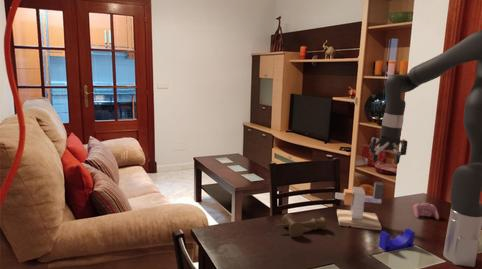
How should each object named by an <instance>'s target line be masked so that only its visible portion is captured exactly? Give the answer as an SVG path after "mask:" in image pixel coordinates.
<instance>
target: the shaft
mask: <svg viewBox="0 0 482 269" xmlns="http://www.w3.org/2000/svg"><path fill="white" fill-rule="evenodd" d="M384 188H385V185H384V183H383V182H379V181H377V182H376V181H374V185H373V194H372V196H371V195H365V201H364V203H374V204H382V199H383V193H384ZM353 197H354V195H353ZM334 198H335V200H336V199H337V200H342V201H343V200H344V198H345V195H344V192H335V194H334ZM352 201H353V199H352Z"/></svg>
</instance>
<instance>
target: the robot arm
mask: <svg viewBox="0 0 482 269" xmlns="http://www.w3.org/2000/svg"><path fill="white" fill-rule="evenodd" d="M474 61H476V62H477V65H476V68H477V69H476V76H475V80H474V82H473V85H472V86H471V89H470V90H469V93H468V95H467V97H466V99H465V104H464V110H463V126H464V130H465V133H466V136H467V139H468V141H469V145H470V156H469V157H470V158H469V159H470V160H469V164H464V165H460V166H459V167H457V168H456V169H455V170H454V172H453V175H452V179H451V184H450V194H449V195H450V198H449V199H450V205H451V206H450V211H449V212H450V214H449V217H448V224H447V228H446V235H445V240H444V248H443V253H442V254H443V257H444V258H445V259H446V260H447V261H449V262H451V263H452V264H453V265H455V266H462V267H463V266H464V267H471V268H474V267H475V265H476V260H477V256H478V249H479V246H480V236H481V232H482V203H481V202H480V199H481V198H480V197H481V193H482V30H481V29H480V30H478V31H475V32H473V33H471V34H469V35H468V36H467V37H465V38H463V39H461V41H459V42H458V43H456V44H455V45H453V46H451V47H450V48H449V49H447V50H445V51H443V52H442V53H440V54H438V55H436V56H434V57H432V58H430V59H428V60H426V61H423V62H421V63H420V64H418V65H415V66H413V67H411V69H409V71H408V73H404V74H401V73H399V74H398V73H397V74H391V75H389V77H388V78H387V79H386V82H385V87H384V90H385V101H386V102H385V109H384V114H383V117H382V122H381V128H380V135H379V138H378V137H374V136H372V137H371V139H370V143H369V147H368V151H369V152H370V153H372V159H371V160H372V162H373V163H374V164H378V163H377V162H378V157H379V154H380V153H381V152H382V151H383V150H385V151H387V150H389V151H393V152H394V153H395V154H394V159H393V164H394V165H395V166H397V165H398V164H399V163H400V160H401V157H402V156H406V154H407V150H408V141H407V139H404V138H403V139H401V135H402V130H403V124H404V116H405V115H404V114H405V110H406V103H407V102H406V101H405V100H404V99H402V96H401V94H404V93H409V92H411V91H413V90H415V89H416V88H418V87H420V86H421V85H424V84H425V83H428V82H430V81H433V80H435V79H438V78H439V77H441V76H443V75H444V74H446V73H447V72H448V71H450V70H451V69H453V68H455V67H457V66H460V65H463V64H465V63H469V62H474ZM377 143H379V144H377ZM376 144H377V146H376ZM399 145H401V147H400V149H399V147H398V146H399Z"/></svg>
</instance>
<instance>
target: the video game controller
mask: <svg viewBox="0 0 482 269" xmlns="http://www.w3.org/2000/svg"><path fill="white" fill-rule="evenodd" d="M412 210H413V214H414V216H415V218H416V219H419V217H420V216H421V217H423V216H424V215H425V216H426V217H431V216H432V215H433V217H434V218H435V220H439V219H440V214H439V211H438V209H437V207H436V206H435V205H434V204H431V203H429V202H418V203H415V204H414V205H412ZM424 210H425V212H424Z"/></svg>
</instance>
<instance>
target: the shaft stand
mask: <svg viewBox="0 0 482 269" xmlns="http://www.w3.org/2000/svg"><path fill="white" fill-rule="evenodd" d="M352 192H353V195H354V197H353V201H352V205H349V206H350V207H349V210H347V209H339V208H338V209H336V215H337V220H338V226H342V227H349V226H351V227H350V228H359V229H366V230H367V229H368V230H374V231H375V230H377V231H381V230H382V228H383V227H382V225H381V222H380V220H379V217H378V216H377V214H376V213H374V212H366V211H364V208H365V202H364V201H365V196H366V192H365V190H364V187H360V186H352Z"/></svg>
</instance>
